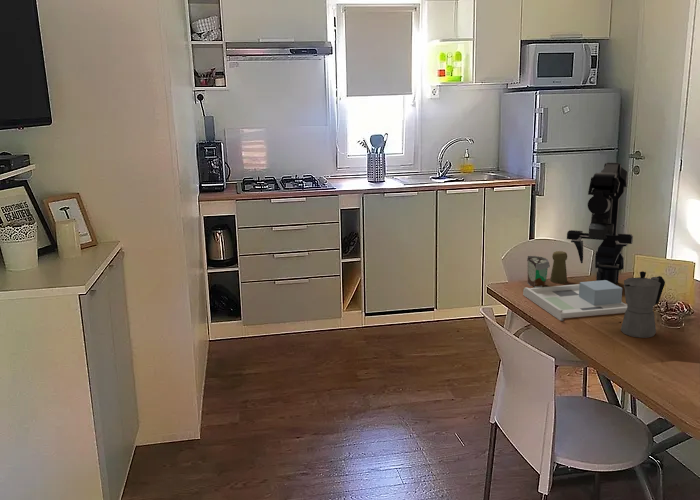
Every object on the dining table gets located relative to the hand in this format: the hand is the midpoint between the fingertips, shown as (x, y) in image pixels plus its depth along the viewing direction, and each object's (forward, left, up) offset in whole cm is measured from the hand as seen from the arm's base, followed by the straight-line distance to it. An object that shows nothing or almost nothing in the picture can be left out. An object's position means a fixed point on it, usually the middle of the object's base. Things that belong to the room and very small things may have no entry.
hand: (597, 264), depth 198 cm
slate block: (-6, -6, -14) cm, 16 cm away
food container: (+5, -27, -15) cm, 32 cm away
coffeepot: (-3, +21, -15) cm, 26 cm away
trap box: (+1, -6, -15) cm, 16 cm away
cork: (-5, -32, -15) cm, 36 cm away
